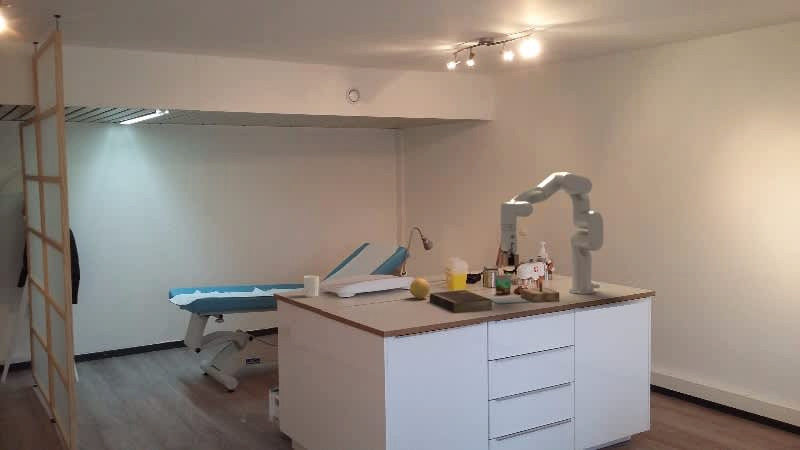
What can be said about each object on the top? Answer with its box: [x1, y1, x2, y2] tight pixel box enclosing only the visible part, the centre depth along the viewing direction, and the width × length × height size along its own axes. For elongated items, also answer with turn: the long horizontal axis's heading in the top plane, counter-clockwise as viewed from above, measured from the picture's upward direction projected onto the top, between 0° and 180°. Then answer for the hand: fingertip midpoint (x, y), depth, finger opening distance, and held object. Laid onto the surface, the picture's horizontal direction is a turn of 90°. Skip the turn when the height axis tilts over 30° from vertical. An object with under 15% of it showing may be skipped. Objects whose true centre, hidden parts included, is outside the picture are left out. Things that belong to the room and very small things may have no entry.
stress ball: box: [409, 277, 431, 300], centre depth 359 cm, size 10×10×10 cm
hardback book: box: [429, 289, 493, 314], centre depth 340 cm, size 29×19×5 cm, turn 20°
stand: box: [520, 281, 560, 303], centre depth 355 cm, size 14×14×8 cm
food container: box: [494, 272, 513, 296], centre depth 371 cm, size 12×6×10 cm, turn 143°
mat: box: [487, 296, 530, 305], centre depth 350 cm, size 16×13×1 cm
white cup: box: [303, 274, 320, 298], centre depth 368 cm, size 8×8×10 cm
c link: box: [498, 252, 520, 267], centre depth 349 cm, size 7×7×6 cm
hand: (508, 264), depth 349 cm, fingers closed on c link, 7 cm apart
